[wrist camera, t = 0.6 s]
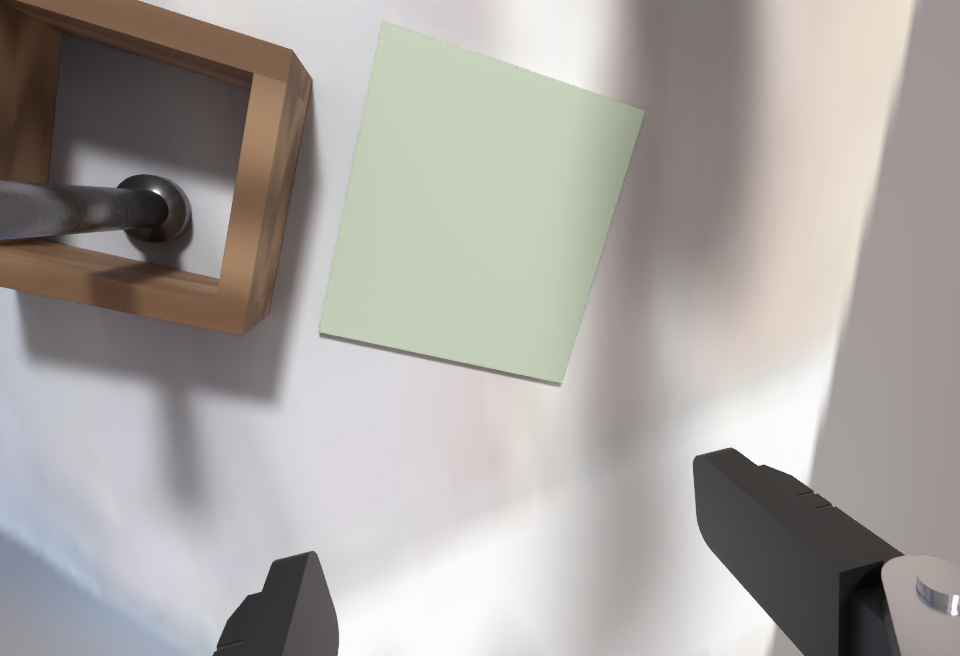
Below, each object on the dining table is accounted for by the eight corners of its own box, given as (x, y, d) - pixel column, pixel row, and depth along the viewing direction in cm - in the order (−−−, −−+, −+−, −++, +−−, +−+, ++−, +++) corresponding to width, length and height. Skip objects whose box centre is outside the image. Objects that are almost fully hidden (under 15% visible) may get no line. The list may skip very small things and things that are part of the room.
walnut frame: (32, -8, 28) (-63, -64, 22) (312, 79, 31) (292, 49, 25) (10, 258, 31) (-80, 270, 25) (268, 314, 34) (241, 335, 28)
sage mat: (382, 22, 31) (382, 20, 31) (642, 111, 35) (645, 110, 34) (319, 330, 35) (318, 331, 34) (560, 381, 38) (561, 383, 38)
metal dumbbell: (125, 167, 31) (-280, 108, 12) (195, 185, 31) (-88, 155, 13) (117, 232, 31) (-276, 266, 13) (186, 248, 32) (-94, 301, 14)
